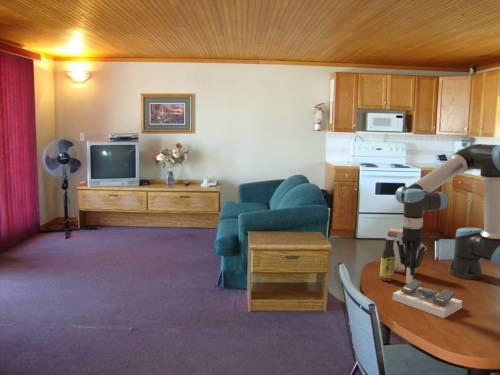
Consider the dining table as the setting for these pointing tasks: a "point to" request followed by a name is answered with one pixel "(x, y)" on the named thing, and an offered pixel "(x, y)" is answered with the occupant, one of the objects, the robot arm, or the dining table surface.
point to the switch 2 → (443, 297)
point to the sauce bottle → (387, 261)
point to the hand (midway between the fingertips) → (409, 281)
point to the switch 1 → (411, 287)
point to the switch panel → (427, 303)
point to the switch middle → (427, 291)
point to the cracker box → (397, 235)
